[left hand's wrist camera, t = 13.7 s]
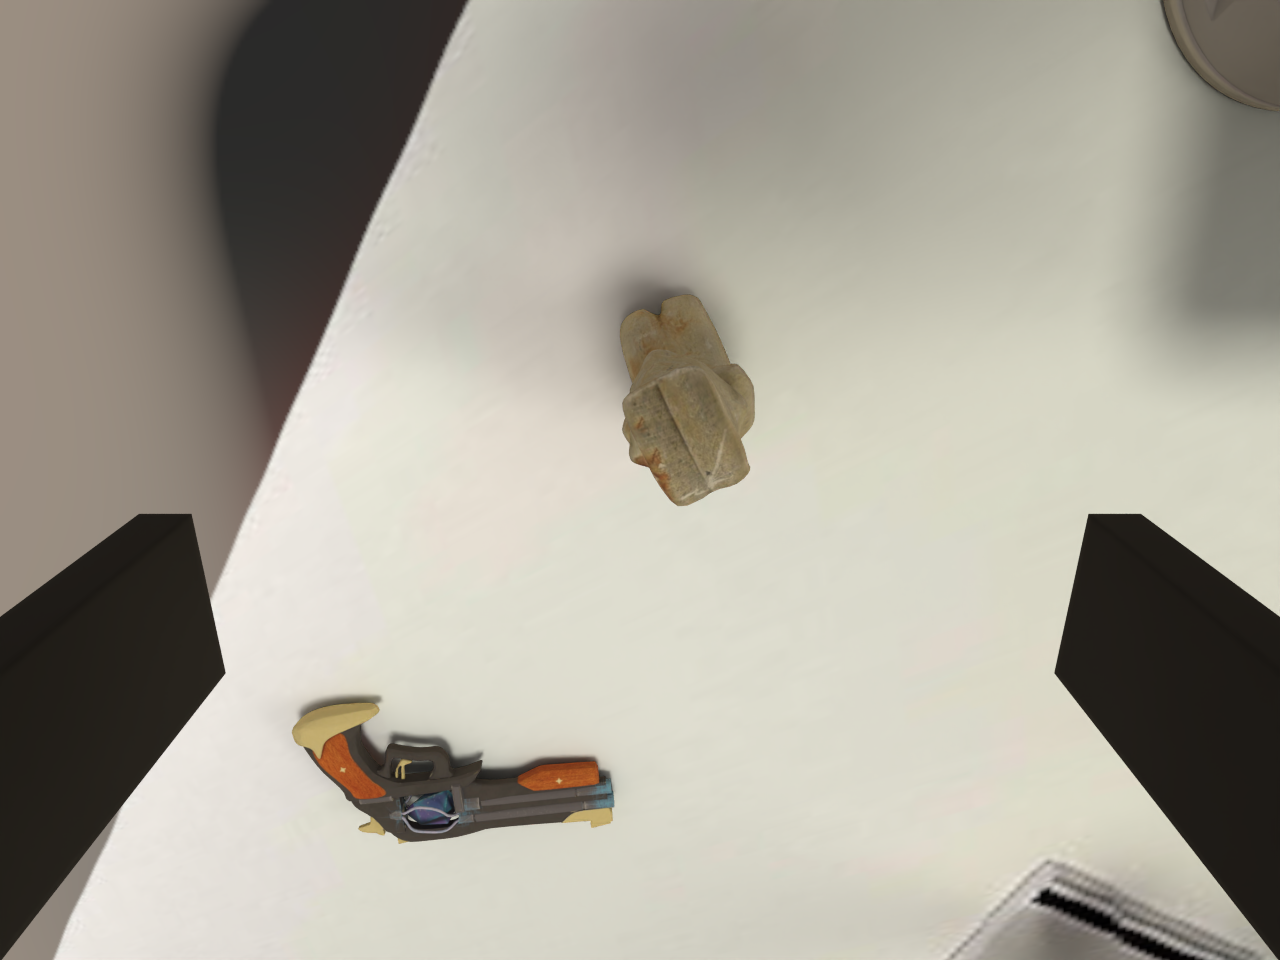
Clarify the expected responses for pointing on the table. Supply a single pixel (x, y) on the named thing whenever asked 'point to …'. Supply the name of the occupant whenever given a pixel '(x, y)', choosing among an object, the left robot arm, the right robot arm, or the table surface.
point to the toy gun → (444, 784)
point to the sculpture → (684, 401)
